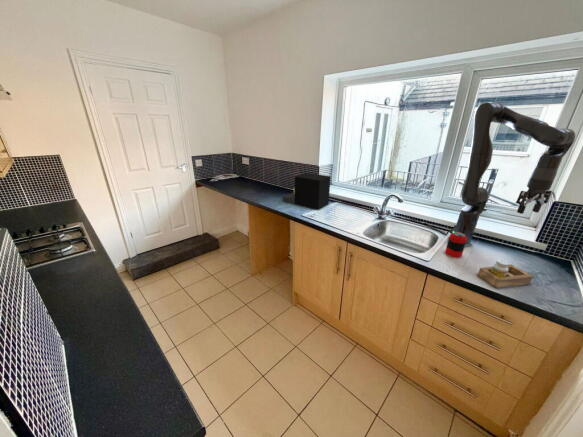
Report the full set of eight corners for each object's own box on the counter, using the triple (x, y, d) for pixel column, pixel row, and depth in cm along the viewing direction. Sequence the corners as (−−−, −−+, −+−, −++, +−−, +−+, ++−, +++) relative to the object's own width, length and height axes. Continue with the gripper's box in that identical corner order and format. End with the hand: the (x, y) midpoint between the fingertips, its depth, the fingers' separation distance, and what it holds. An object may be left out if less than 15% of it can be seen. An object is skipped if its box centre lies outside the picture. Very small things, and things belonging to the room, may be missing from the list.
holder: (477, 275, 114) (480, 267, 112) (508, 271, 116) (511, 264, 115) (496, 288, 105) (500, 280, 103) (529, 283, 108) (533, 276, 106)
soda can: (447, 256, 128) (453, 236, 123) (443, 249, 135) (448, 230, 130) (463, 258, 126) (470, 238, 122) (458, 251, 133) (464, 232, 128)
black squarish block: (294, 196, 222) (294, 170, 213) (328, 204, 204) (330, 176, 195) (282, 201, 209) (282, 174, 200) (318, 210, 190) (319, 180, 181)
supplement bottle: (506, 282, 109) (513, 264, 105) (498, 285, 107) (506, 266, 103) (492, 275, 113) (499, 257, 110) (485, 278, 111) (492, 260, 108)
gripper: (545, 175, 109) (531, 208, 116) (519, 176, 107) (506, 210, 113) (565, 179, 102) (549, 214, 109) (538, 180, 100) (523, 216, 106)
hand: (527, 212), depth 111 cm, fingers open, 8 cm apart
